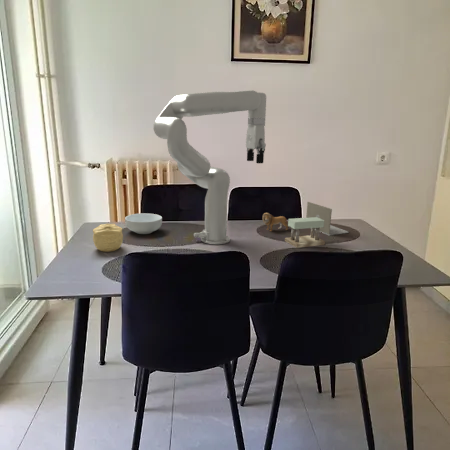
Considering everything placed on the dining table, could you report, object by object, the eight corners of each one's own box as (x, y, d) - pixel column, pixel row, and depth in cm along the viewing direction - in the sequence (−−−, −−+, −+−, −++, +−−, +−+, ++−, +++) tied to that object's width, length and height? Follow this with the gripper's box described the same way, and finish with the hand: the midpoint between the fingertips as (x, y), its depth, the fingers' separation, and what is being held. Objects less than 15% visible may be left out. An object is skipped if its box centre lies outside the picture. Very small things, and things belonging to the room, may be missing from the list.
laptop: (349, 233, 191) (352, 206, 187) (328, 236, 185) (331, 209, 182) (324, 224, 206) (327, 199, 203) (305, 226, 201) (307, 201, 198)
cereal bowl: (142, 239, 174) (141, 223, 172) (117, 232, 183) (117, 217, 181) (169, 231, 187) (169, 216, 185) (145, 225, 196) (145, 211, 194)
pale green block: (294, 229, 167) (294, 222, 166) (288, 225, 172) (288, 218, 171) (323, 227, 171) (324, 220, 170) (316, 223, 176) (317, 217, 175)
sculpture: (93, 255, 152) (91, 228, 150) (94, 245, 164) (92, 220, 161) (124, 253, 156) (122, 226, 153) (122, 243, 167) (121, 219, 164)
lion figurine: (264, 232, 188) (265, 214, 185) (259, 229, 192) (260, 211, 190) (291, 230, 193) (292, 212, 191) (285, 227, 198) (286, 209, 196)
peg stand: (296, 247, 166) (298, 230, 165) (284, 241, 175) (285, 224, 173) (324, 244, 171) (326, 227, 170) (311, 238, 180) (313, 222, 179)
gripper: (240, 122, 179) (239, 160, 183) (257, 122, 163) (255, 164, 168) (255, 122, 182) (254, 160, 186) (273, 123, 166) (271, 164, 171)
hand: (254, 162), depth 177 cm, fingers open, 9 cm apart
